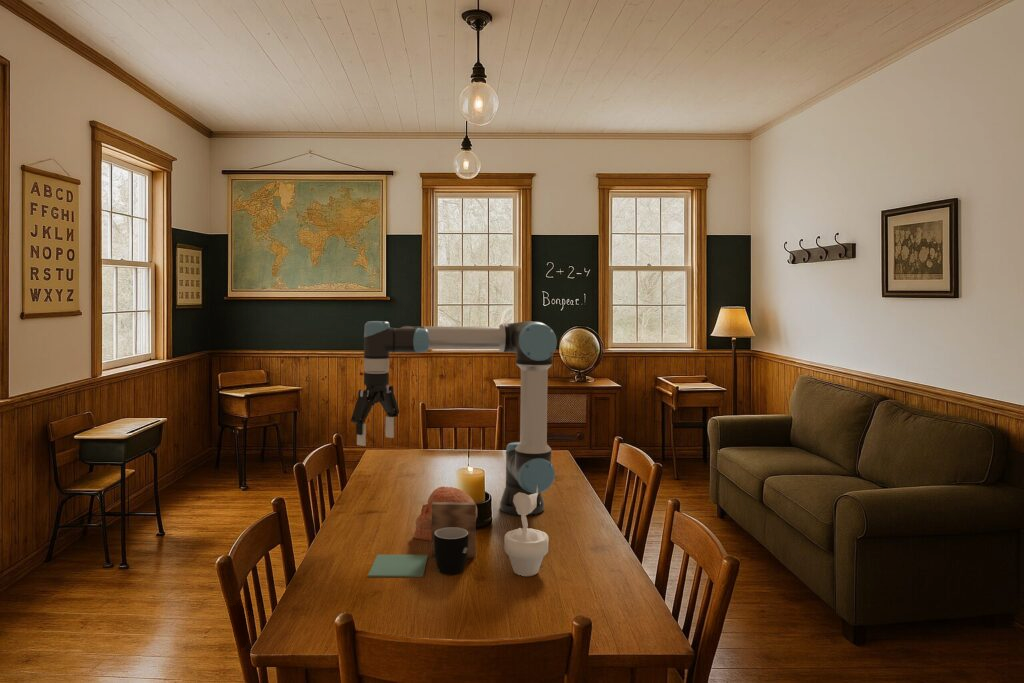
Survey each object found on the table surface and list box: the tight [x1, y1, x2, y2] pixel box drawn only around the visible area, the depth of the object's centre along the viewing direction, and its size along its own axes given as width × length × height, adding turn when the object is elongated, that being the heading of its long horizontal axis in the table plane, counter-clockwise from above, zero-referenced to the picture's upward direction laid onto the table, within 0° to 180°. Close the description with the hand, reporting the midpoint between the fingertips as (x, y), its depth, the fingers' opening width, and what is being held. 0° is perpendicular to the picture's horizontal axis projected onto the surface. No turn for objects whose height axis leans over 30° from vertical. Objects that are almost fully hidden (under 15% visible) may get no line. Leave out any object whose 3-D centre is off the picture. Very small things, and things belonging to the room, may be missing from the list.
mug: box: [434, 527, 468, 576], centre depth 177 cm, size 12×9×10 cm
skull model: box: [413, 486, 478, 542], centre depth 201 cm, size 15×19×15 cm
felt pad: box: [367, 554, 429, 578], centre depth 178 cm, size 14×14×1 cm
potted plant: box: [503, 487, 550, 577], centre depth 175 cm, size 13×12×25 cm
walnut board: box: [430, 502, 477, 559], centre depth 187 cm, size 12×5×15 cm, turn 92°
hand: (375, 441), depth 204 cm, fingers open, 13 cm apart
